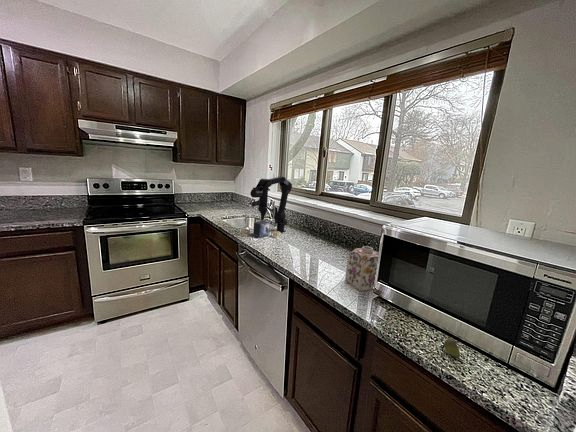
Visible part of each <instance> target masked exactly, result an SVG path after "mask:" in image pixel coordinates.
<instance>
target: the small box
mask: <svg viewBox="0 0 576 432" xmlns="http://www.w3.org/2000/svg"><path fill="white" fill-rule="evenodd" d="M270 223H271V222H270V221H266V220H261V221H260V220H259V221H255V222H254V223H253V232H252V233H253V234H252V237H254V238H257V239H261V238H265V237H269V236H270Z"/></svg>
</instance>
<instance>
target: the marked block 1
mask: <svg viewBox="0 0 576 432" xmlns="http://www.w3.org/2000/svg"><path fill="white" fill-rule="evenodd" d="M250 233H251V230H250V229H247V228H245V229H242V230H241V236H242V235H243V237H249V235H250V236H251V234H250Z"/></svg>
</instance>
